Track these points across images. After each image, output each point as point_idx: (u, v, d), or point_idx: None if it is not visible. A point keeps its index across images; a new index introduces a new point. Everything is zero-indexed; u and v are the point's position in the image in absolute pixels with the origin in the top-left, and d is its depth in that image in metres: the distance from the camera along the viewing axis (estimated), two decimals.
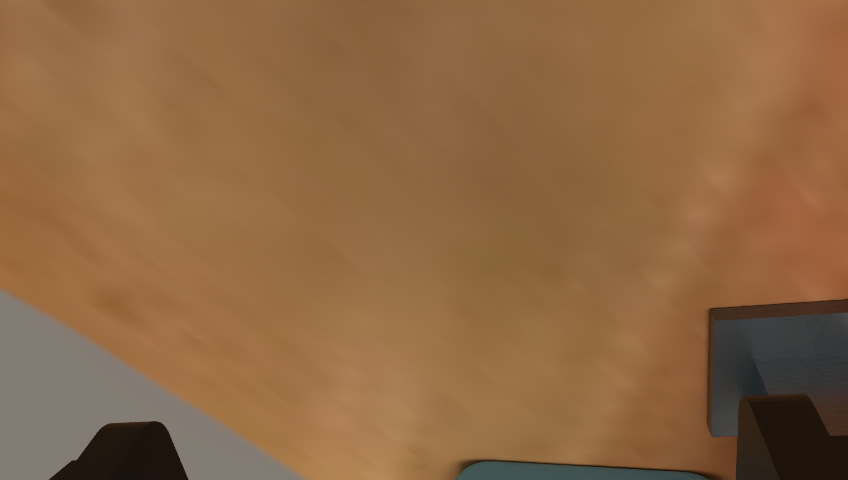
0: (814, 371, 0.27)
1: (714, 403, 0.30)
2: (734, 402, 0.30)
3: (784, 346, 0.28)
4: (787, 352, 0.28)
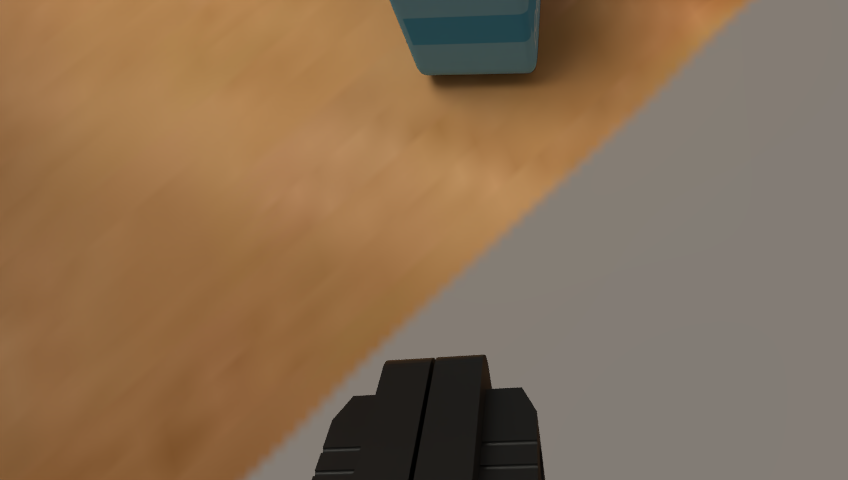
0: None
1: None
2: None
3: None
4: None
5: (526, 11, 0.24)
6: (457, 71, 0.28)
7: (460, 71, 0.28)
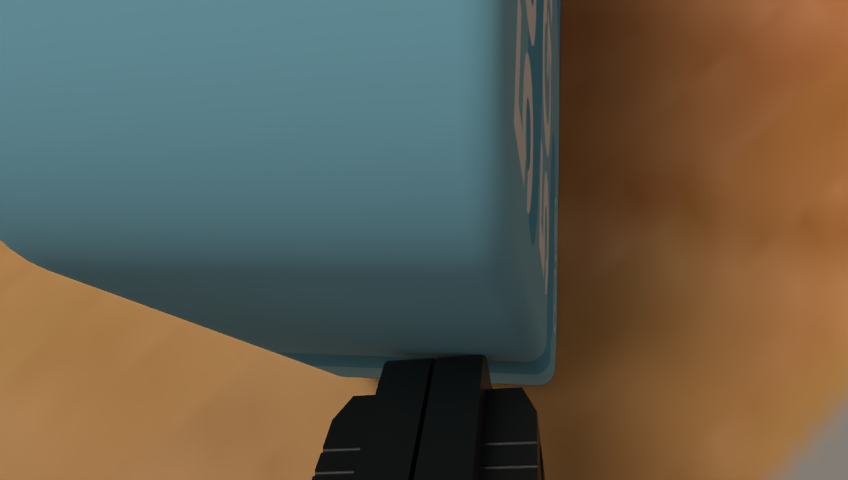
0: None
1: None
2: None
3: None
4: None
5: (543, 353, 0.11)
6: None
7: None
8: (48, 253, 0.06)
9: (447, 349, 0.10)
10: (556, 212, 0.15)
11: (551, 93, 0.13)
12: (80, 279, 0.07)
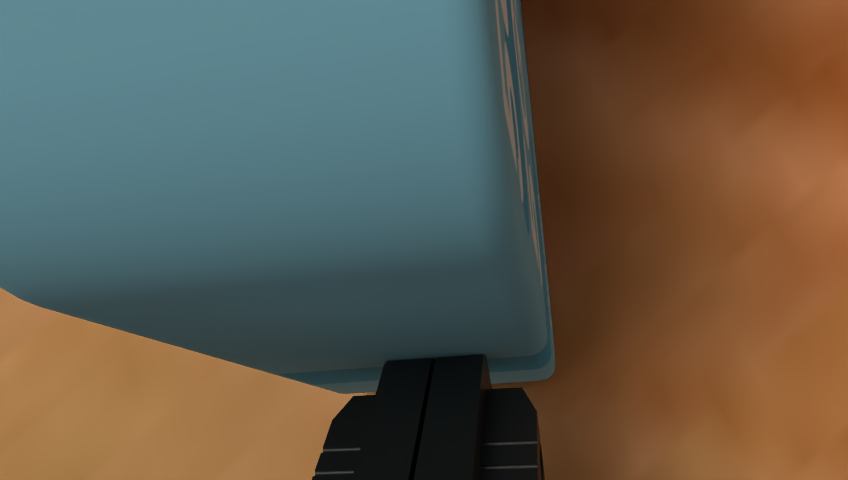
0: None
1: None
2: None
3: None
4: None
5: (545, 345, 0.11)
6: None
7: None
8: (43, 289, 0.06)
9: (450, 351, 0.10)
10: None
11: (524, 88, 0.13)
12: (76, 314, 0.07)
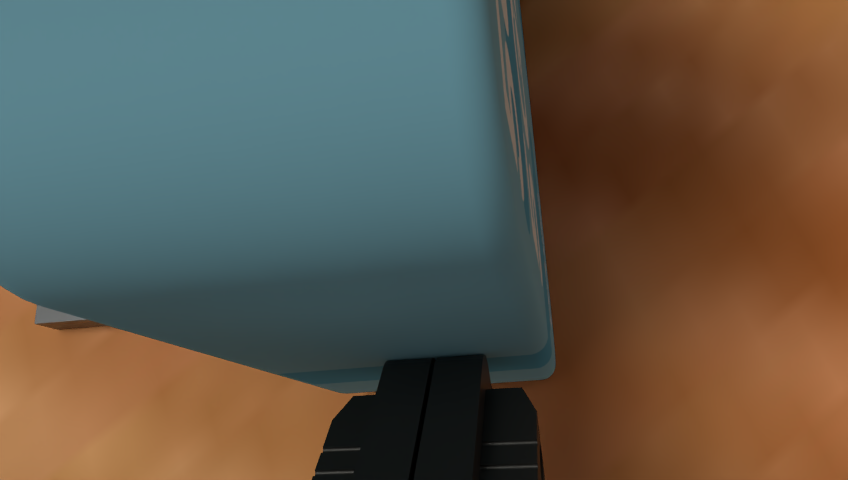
0: None
1: None
2: None
3: None
4: None
5: (546, 344, 0.11)
6: None
7: None
8: (45, 289, 0.06)
9: (451, 350, 0.10)
10: (539, 206, 0.15)
11: (524, 87, 0.13)
12: (78, 314, 0.07)
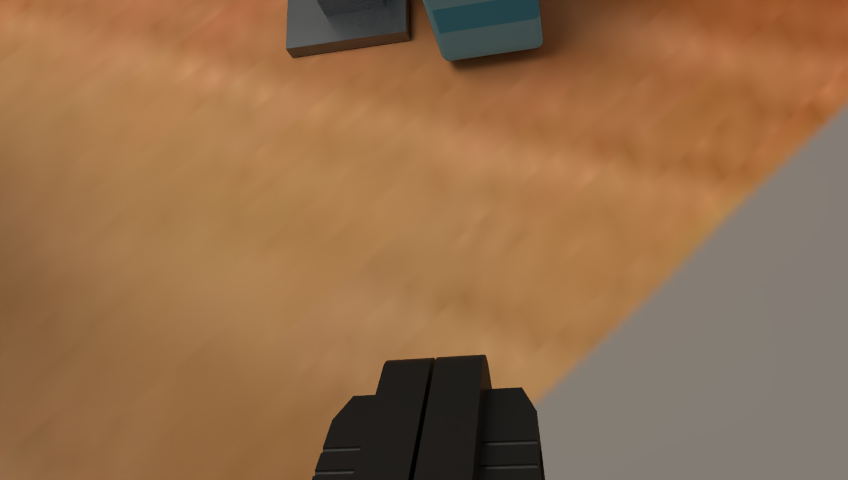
0: None
1: (368, 35, 0.35)
2: (368, 21, 0.35)
3: None
4: None
5: None
6: (477, 53, 0.32)
7: (479, 53, 0.32)
8: None
9: None
10: None
11: None
12: None
